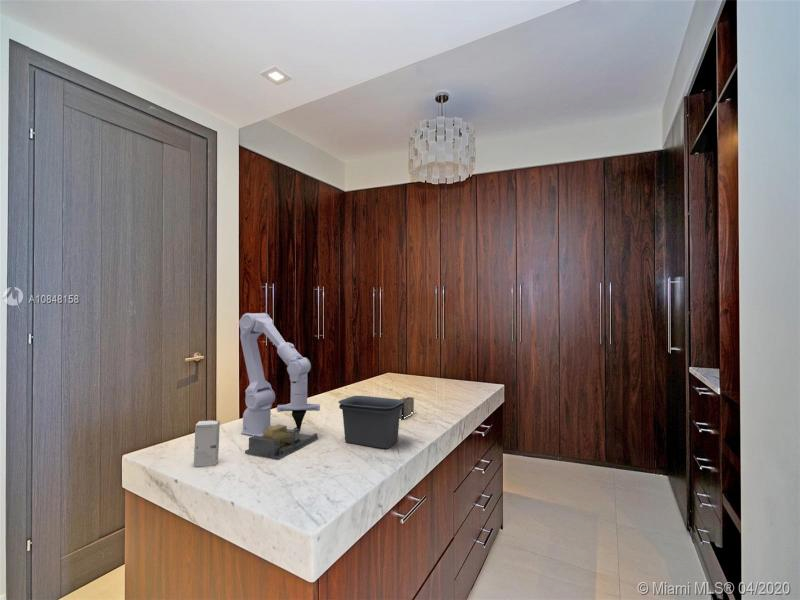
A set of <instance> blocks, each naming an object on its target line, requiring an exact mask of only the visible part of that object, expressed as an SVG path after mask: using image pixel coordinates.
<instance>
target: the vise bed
mask: <svg viewBox="0 0 800 600" xmlns="http://www.w3.org/2000/svg"><path fill="white" fill-rule="evenodd" d="M318 439H319V436H318V433H317V432H315V433H313V434H311V435H310V434H304V433H300V441H299V442H297V443H295V444H293V445H292V444H285V445H283V446H280V440H278V439H272V438H266V437H263V436H262V437H260V436H253V435H251V436H250V437H248V449H245V450H244V454H245V455H250V456H255V457H260V458H265V459H271V460H276V461H279V460H281V459H283V458H285V457H287V456H288V455H291V454H293V453H294V452H296V451H298V450H300V449H302V448H304V447H306V446H308V445H310V444H312V443H313V442H316V441H317V440H318Z"/></svg>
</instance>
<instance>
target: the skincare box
mask: <svg viewBox="0 0 800 600" xmlns="http://www.w3.org/2000/svg"><path fill="white" fill-rule="evenodd" d="M220 424H221V421H220V420H219V419H218V420H199V421H198V422H197V423H196V424H195V427H194V431H195V432H194V449H193V452H194V455H193V467H209V466H211V467H212V466H216V464H217V463H218V461H219V450H220V449H219V448H220V429H221V428H220V426H221V425H220Z"/></svg>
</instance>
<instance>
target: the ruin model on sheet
mask: <svg viewBox="0 0 800 600" xmlns="http://www.w3.org/2000/svg"><path fill="white" fill-rule="evenodd" d="M398 400H403V401H404V402H403V403H402V404H403V408H402V409H400V417H399V419H402V420H403V418H404V417H406V416H408V415H410V414H411V412H413V413H414V414H415V412H414V410H415V409H414V407H415V406H414V405H415V397H411V396H407V397H406V396H404V397H402V398H400V399H398ZM402 415H403V417H402Z"/></svg>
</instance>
